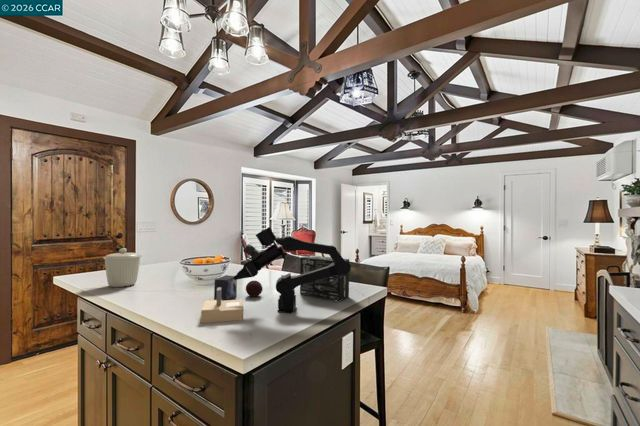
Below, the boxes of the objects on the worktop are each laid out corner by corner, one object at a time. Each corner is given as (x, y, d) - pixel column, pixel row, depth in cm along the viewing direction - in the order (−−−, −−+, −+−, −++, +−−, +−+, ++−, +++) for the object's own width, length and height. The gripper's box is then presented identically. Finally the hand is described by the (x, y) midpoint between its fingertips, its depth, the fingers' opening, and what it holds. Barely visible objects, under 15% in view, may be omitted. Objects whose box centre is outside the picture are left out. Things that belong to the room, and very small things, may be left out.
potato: (248, 299, 142) (249, 283, 142) (243, 295, 150) (243, 279, 150) (265, 297, 146) (265, 281, 146) (258, 293, 154) (258, 278, 154)
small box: (226, 303, 136) (226, 279, 136) (213, 302, 137) (213, 279, 137) (237, 297, 146) (237, 275, 146) (225, 296, 147) (225, 274, 148)
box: (349, 297, 147) (349, 258, 147) (339, 302, 139) (340, 260, 139) (310, 290, 159) (310, 255, 160) (299, 294, 151) (299, 257, 151)
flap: (221, 300, 125) (221, 285, 125) (219, 310, 112) (220, 292, 112) (205, 302, 123) (205, 286, 123) (201, 311, 110) (201, 293, 110)
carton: (242, 308, 127) (242, 299, 127) (243, 319, 114) (243, 308, 114) (205, 311, 123) (205, 301, 123) (201, 323, 110) (201, 311, 110)
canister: (145, 285, 170) (146, 248, 170) (107, 291, 157) (107, 250, 157) (135, 280, 182) (136, 246, 183) (99, 285, 169) (100, 248, 170)
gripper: (259, 237, 134) (229, 257, 132) (255, 241, 115) (220, 263, 113) (273, 259, 134) (243, 278, 132) (271, 265, 116) (236, 288, 114)
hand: (235, 276), depth 123 cm, fingers open, 9 cm apart
